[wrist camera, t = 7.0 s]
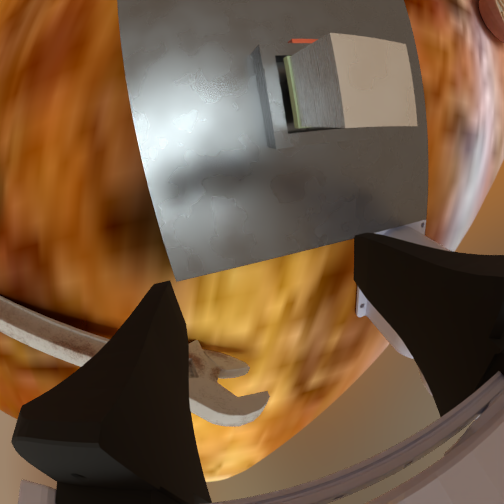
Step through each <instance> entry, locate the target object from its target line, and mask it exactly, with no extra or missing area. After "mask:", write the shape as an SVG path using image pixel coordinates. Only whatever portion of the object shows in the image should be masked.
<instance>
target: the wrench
mask: <svg viewBox="0 0 504 504" xmlns="http://www.w3.org/2000/svg"><path fill="white" fill-rule="evenodd" d="M0 332H2V333H4V334H6V335H8V336H10V337H12V338H14V339H16V340H18V341H20V342H22V343H24V344H26V345H29V346H31V347H33V348H35V349H37V350H40V351H42V352H44V353H47V354H49V355H52V356H54V357H57V358H59V359H62V360H64V361H67V362H69V363H72V364H75V365H78V366H80V367H82V366H83V365H84V364H85V363H86V362H87V361H88V360H90V359H91V358H92V357H93V356H94V355H95V354H96V353H97V352H98V351H99V350H100V349H101V348H102V347H103V346H104V345H105V344H106V343H107V342H108V341H109V340H110V339H107V338H104V337H101V336H98V335H95V334H92V333H89V332H86V331H83V330H80V329H77V328H75V327H72V326H69V325H67V324H64V323H61V322H59V321H56V320H54V319H51V318H49V317H46V316H44V315H41V314H39V313H37V312H34V311H32V310H30V309H27V308H25V307H23V306H21V305H18V304H16V303H14V302H12V301H10V300H8V299H6V298H4V297H2V296H0ZM188 345H189V401H190V411H191V412H192V413H194V414H196V415H198V416H199V417H201V418H203V419H205V420H207V421H208V422H211V423H213V424H217V425H221V426H241V425H244V424H247V423H249V422H252V421H254V420H255V419H256V418H257V417H258V416H259V415H260V414H261V412H262V411H263V409H264V407H265V406H266V404H267V402H268V399H269V397H270V396H269V394H268V392H267V391H265V392H260V393H256V394H251V395H246V396H241V397H237V396H235V395H234V394H232V393H231V392H229V391H228V390H227V389H225V388H224V387H222V386H221V385H220V384H218V382H217V380H218V377H219V378H235V377H239V376H242V375H245V374H246V373H248V371H249V369H250V367H249V366H248V365H247V364H246V363H245V362H243V361H240V360H238V359H236V358H234V357H231V356H228V355H226V354H223V353H220V352H215V351H210V350H205V349H202V348H201V345H200V343H199V341H198V340H195V341H193V342H191V343H189V344H188Z"/></svg>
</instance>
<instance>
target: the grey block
mask: <svg viewBox="0 0 504 504" xmlns="http://www.w3.org/2000/svg"><path fill="white" fill-rule="evenodd" d="M283 59H284V65H285V70H286V76H287V81H288V87H289V93H290V100H291V106H292V112H293V119H294V126H295V128H298V129H299V128H308V127H333V128H357V127H381V126H417V114H416V104H415V95H414V88H413V81H412V74H411V68H410V62H409V57H408V52H407V47H406V44H403V43H398V42H393V41H388V40H383V39H377V38H371V37H364V36H357V35H348V34H338V33H328V34H327V35H325V36H323V37H321V38H320V39H318V40H316V41H315V42H313V43H311V44H310V45H308V46H306V47H305V48H303V49H301V50H300V51H298V52H297V53H295V54H294V55H292V56H286V57H285V58H283Z"/></svg>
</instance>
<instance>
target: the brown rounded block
mask: <svg viewBox="0 0 504 504" xmlns="http://www.w3.org/2000/svg"><path fill="white" fill-rule="evenodd" d="M479 10H480V13H481V16H482V19H483V21H484V22H485V24H486V26H487V27H488V29H489V30H490V31H491V32H492V33H493V34H494V36H496V37H497V38H498V39H499V40H500V41H502V42H503V43H504V0H479Z"/></svg>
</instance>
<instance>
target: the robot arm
mask: <svg viewBox="0 0 504 504" xmlns="http://www.w3.org/2000/svg"><path fill="white" fill-rule="evenodd" d="M421 224H422V225H421ZM425 227H426V220H422V221H418V222H414V223H411V224H407V225H403V226H399V227H395V228H392V229H388V230H384V231H380V232H376V233H368V232H367V233H363V234H359V235H355V236H354V281H355V282H356V284H357V285H358V287H357V303H356V315H357V316H358V317H362V316H365V315H366V316H367V317H368V318H369V319H370V320H371V321H372V323H373V324H374V325H375V326H376V327H377V328H378V330H379V331H380V332H381V333H382V334H383V336H384V337H385V338H386V339H387V340H388V342H389V343H390V344H391V345H392V346H393V348H394V349H395V350H396V351H398V352H399V353H400V354H402V355H404V356H406V357H409V358H412V359H414V360H415V362H416V363H417V365H418V368H419V373H420V377H421V380H422V383H423V385H424V386H425V388H426V389H427V391H428V392H429V393H430V394H431V395H432V396H433V398H434V400H435V403H436V405H437V408H438V410H439V413H440V416H441V418H439V419H438V420H436V421H435V422H433V423H432V424H430V425H429V426H427V427H425V428H424V429H422V430H421V431H419V432H418V433H416V434H414V435H413V436H411V437H409V438H407V439H405V440H404V441H402V442H400V443H398V444H396V445H395V446H393V447H391V448H389V449H387V450H385V451H383V452H381V453H379V454H377V455H375V456H373V457H371V458H368V459H367V460H364V461H362V462H360V463H358V464H355V465H353V466H350V467H349V468H346V469H343V470H341V471H338V472H335V473H333V474H330V475H328V476H325V477H322V478H319V479H316V480H313V481H310V482H307V483H304V484H300V485H297V486H294V487H290V488H287V489H283V490H279V491H275V492H271V493H267V494H262V495H257V496H253V497H247V498H243V499H236V500H230V501H223V502H215V503H212V501H211V498H210V496H209V492H208V489H207V485H206V482H205V478H204V475H203V471H202V467H201V463H200V458H199V454H198V450H197V445H196V440H195V435H194V429H193V423H192V417H191V411H190V401H189V345H188V336H187V329H186V323H185V320H184V318H183V315H182V312H181V310H180V307H179V304H178V302H177V299H176V296H175V293H174V291H173V288H172V285H171V282H170V281H166V282H162V283H157V284H154V285H153V286H152V287H151V289H150V290H149V291H148V292H147V294H146V295H145V296H144V298H143V299H142V301H141V302H140V303H139V305H138V306H137V307H136V309H135V310H134V311H133V313H132V314H131V315H130V316H129V318H128V319H127V320H126V321H125V323H124V324H123V325H122V326H121V327H120V329H119V330H118V331H117V332H116V334H115V335H114V336H113V337H112V338H111V339H110V340H109V341H108V342H107V343H106V344H105V345H104V346H103V347H102V348H101V349H100V350H99V351H98V352H97V353H96V354H95V355H94V356H93V357H92V358H91V359H90V360H88V361H87V362H86V363H85V364H84V365H83V366H82V367H80V368H79V369H78V370H77V371H76V372H74V373H73V374H72V375H71V376H69V377H68V378H67V379H65V380H64V381H62V382H61V383H60V384H58V385H57V386H55V387H54V388H52V389H51V390H49V391H48V392H46V393H44V394H42V395H41V396H39V397H37V398H35V399H34V400H32V401H30V402H28V403H27V404H25V405H23V406H22V407H21V410H20V413H19V417H18V420H17V423H16V427H15V430H14V434H13V437H12V444H13V446H14V448H15V450H16V451H17V452H18V453H19V455H20V456H21V457H23V458H24V459H25V460H26V461H28V462H29V463H30V464H31V465H33V466H34V467H36V468H37V469H39V470H40V471H42V472H43V473H45V474H46V475H48V476H49V477H51V478H52V479H54V480H55V481H57V489H53V488H51V487H48V486H45V485H41V484H38V483H34V482H30V481H27V480H21V484H20V491H19V500H18V504H327V503H330V502H333V501H336V500H338V499H341V498H343V497H346V496H348V495H351V494H353V493H356V492H358V491H360V490H362V489H364V488H367V487H369V486H371V485H373V484H375V483H377V482H379V481H381V480H383V479H385V478H387V477H389V476H391V475H393V474H395V473H397V472H399V471H400V470H402V469H404V468H406V467H407V466H409V465H411V464H413V463H414V462H416V461H417V460H419V459H421V458H422V457H424V456H425V455H427V454H429V453H430V452H431V451H433V450H435V449H436V448H437V447H439V446H440V445H442V444H443V443H445V442H446V441H447V440H449V439H450V438H451V437H453V436H454V435H456V434H457V433H458V432H459V431H461V430H462V429H463V428H465V427H466V426H467V425H468V424H470V423H471V422H472V421H473V420H475V421H474V422H473V423H472V424H471V425H470V426H469V428H468V429H467V430H466V432H465V433H464V434H463V435H462V436H461V437H460V439H459V440H458V441H457V442H456V443H455V444H454V445H453V446H452V447H451V448H450V449H449V450H447V451H446V452H445V454H444V457H443V458H441V459H440V460H438V461H437V462H436V463H434V464H433V465H431V466H430V467H428V468H427V469H425V470H424V471H422V472H421V473H419V474H417V475H416V476H414V477H413V478H411V479H409V480H408V481H406V482H404V483H402V484H401V485H399V486H398V487H396V488H394V489H392V490H390V491H388V492H387V493H385V494H383V495H381V496H379V497H377V498H375V499H373V500H371V501H369V502H367V503H365V504H504V255H477V254H466V253H458V252H452V251H450V250H448V249H446V248H445V247H443V246H442V245H440V244H438V243H437V242H435V241H433V240H432V239H430V238H428V237H427V236H425ZM361 304H362V305H361Z"/></svg>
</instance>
